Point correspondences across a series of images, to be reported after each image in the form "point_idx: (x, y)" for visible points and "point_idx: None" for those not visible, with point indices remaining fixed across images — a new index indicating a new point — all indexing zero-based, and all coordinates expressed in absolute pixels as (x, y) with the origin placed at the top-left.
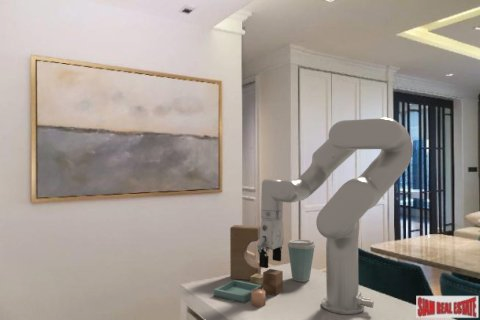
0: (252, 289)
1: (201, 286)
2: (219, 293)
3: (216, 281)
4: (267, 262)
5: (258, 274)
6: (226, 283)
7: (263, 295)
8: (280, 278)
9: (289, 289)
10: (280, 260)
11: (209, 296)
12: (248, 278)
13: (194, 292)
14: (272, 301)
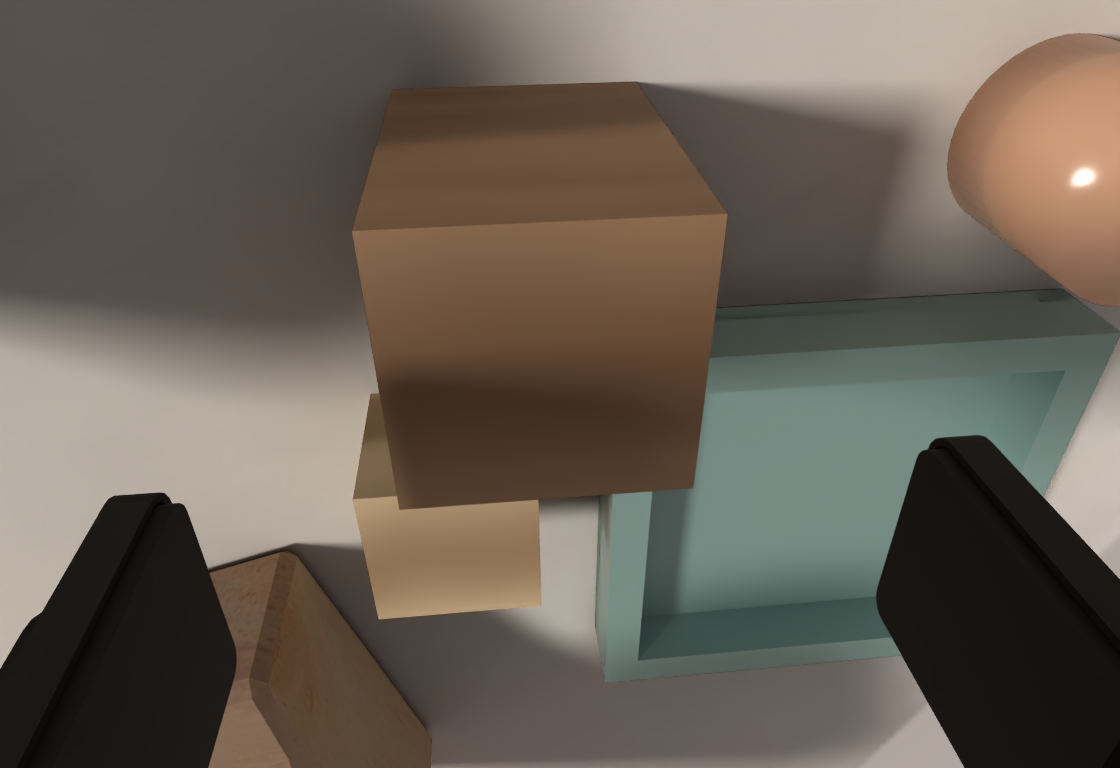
0: None
1: (748, 759)
2: None
3: (572, 760)
4: (1069, 536)
5: (396, 581)
6: (752, 667)
7: None
8: (477, 170)
9: (234, 24)
10: (150, 501)
11: None
12: (346, 636)
13: (899, 721)
14: (889, 9)
